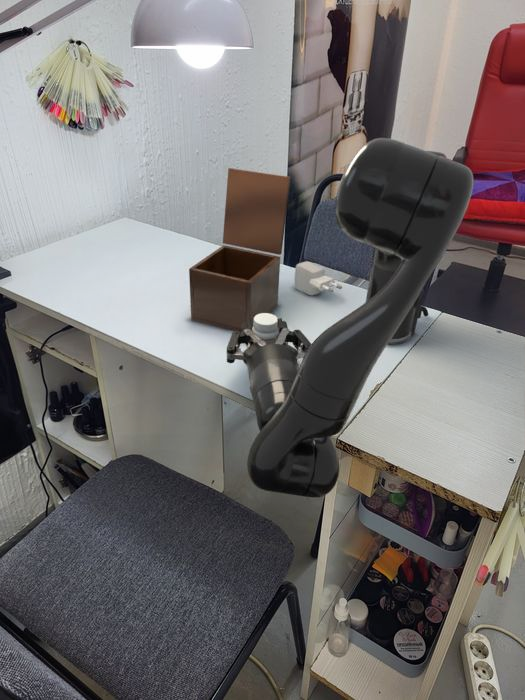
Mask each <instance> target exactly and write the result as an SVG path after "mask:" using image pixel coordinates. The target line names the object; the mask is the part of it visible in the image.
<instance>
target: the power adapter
mask: <svg viewBox="0 0 525 700" xmlns="http://www.w3.org/2000/svg"><path fill="white" fill-rule="evenodd" d="M325 272H326V270H325V268H323V266H320V265H318V264H316V263H313V262H312V261H308V260H307V261H302V262H299V263H297V264H296V265H295V269H294V288H295V289H297V290H299V291H300V292H302V293H304V294H306V295H309V296H314V295H315V296H316V295H318V294H320V293H322V291H325V290H326V291H327V292H330V293H331V294H333V293H334V292H335V290H334V289H333V287H334V288H337V289H339V290H342V289H343V286H342V285H340V284H337V283H336V280H335V279H334V278H333V277H331V276H327V275H326V274H325Z"/></svg>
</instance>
